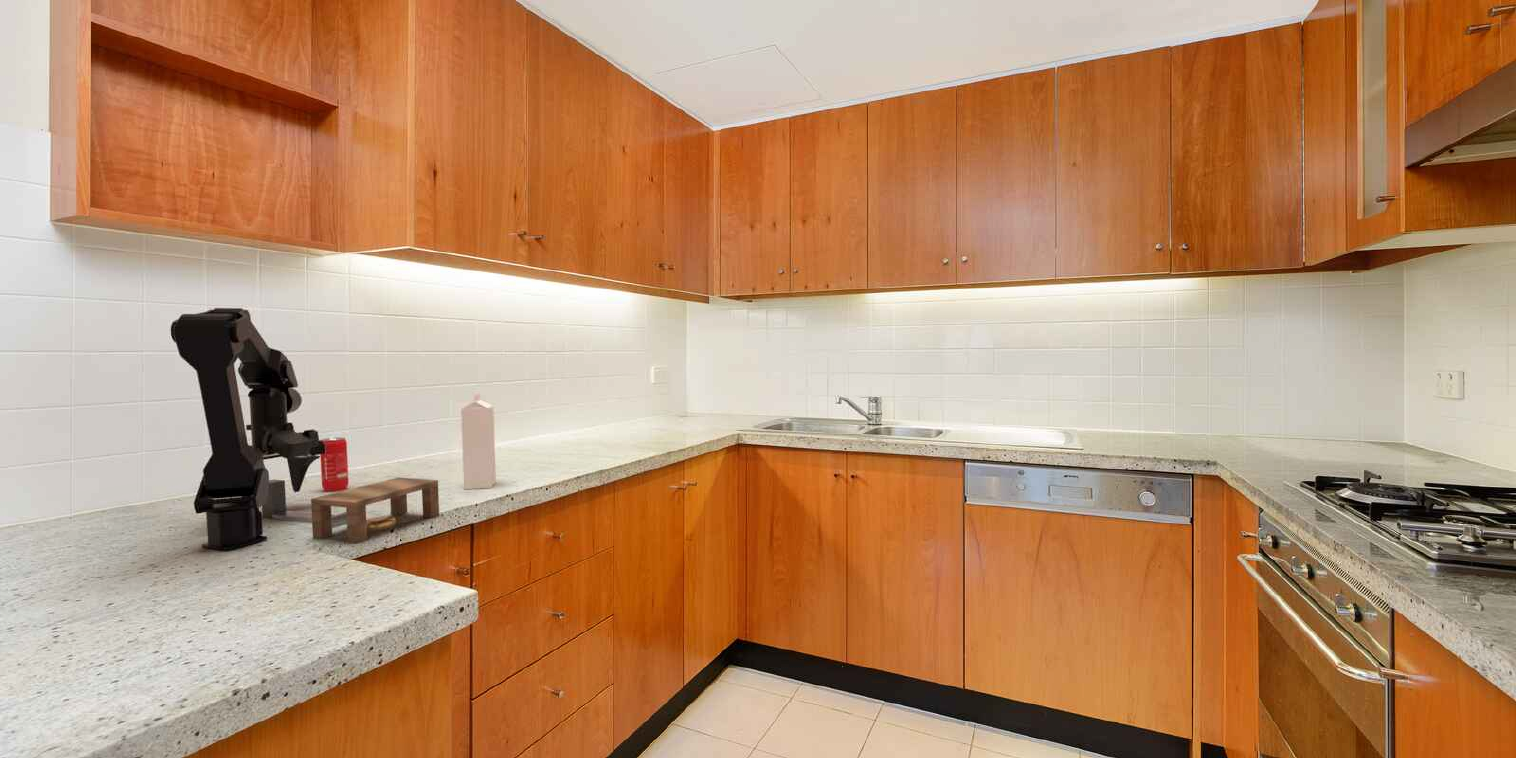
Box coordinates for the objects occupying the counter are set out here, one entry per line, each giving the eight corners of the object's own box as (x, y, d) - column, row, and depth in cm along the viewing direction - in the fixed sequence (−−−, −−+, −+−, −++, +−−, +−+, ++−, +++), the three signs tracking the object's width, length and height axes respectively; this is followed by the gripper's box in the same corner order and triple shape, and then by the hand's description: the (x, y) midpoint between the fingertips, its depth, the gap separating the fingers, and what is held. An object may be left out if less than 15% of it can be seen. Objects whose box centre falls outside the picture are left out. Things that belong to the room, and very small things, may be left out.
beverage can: (327, 493, 144) (324, 441, 144) (318, 490, 148) (316, 439, 147) (352, 488, 149) (350, 438, 148) (343, 486, 152) (341, 436, 151)
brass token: (378, 532, 114) (378, 524, 114) (357, 530, 115) (357, 522, 115) (401, 525, 119) (401, 517, 119) (381, 523, 120) (380, 515, 120)
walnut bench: (356, 543, 107) (354, 502, 107) (312, 538, 110) (310, 498, 110) (439, 515, 124) (437, 480, 124) (399, 511, 127) (398, 477, 127)
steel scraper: (332, 527, 117) (330, 490, 116) (253, 519, 123) (251, 484, 122) (361, 518, 122) (359, 483, 122) (284, 511, 128) (282, 477, 128)
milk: (496, 483, 154) (493, 392, 152) (491, 488, 148) (488, 394, 147) (469, 484, 152) (466, 393, 151) (463, 489, 146) (460, 395, 145)
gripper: (247, 425, 113) (252, 511, 114) (344, 414, 130) (347, 488, 131) (204, 424, 116) (209, 507, 117) (304, 413, 134) (307, 485, 135)
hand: (273, 497), depth 125 cm, fingers open, 9 cm apart
